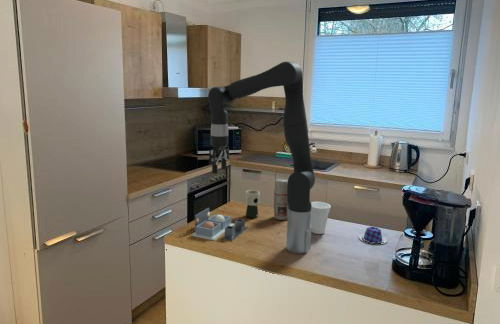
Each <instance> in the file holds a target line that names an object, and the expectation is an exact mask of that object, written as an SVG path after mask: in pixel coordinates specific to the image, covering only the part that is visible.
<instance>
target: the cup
mask: <svg viewBox="0 0 500 324" xmlns="http://www.w3.org/2000/svg"><path fill="white" fill-rule="evenodd" d="M310 202H311V204H312V207H311V222H310V226H311V227H312V228H311V233H313V234H317V235H322V234H325V231H326V227H327V224H328V223H327V221H328V217H329V213H330V211H331V208H332V206H331V204H329V203H327V202H324V201H310Z"/></svg>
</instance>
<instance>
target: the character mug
mask: <svg viewBox="0 0 500 324" xmlns="http://www.w3.org/2000/svg"><path fill="white" fill-rule="evenodd" d="M260 193H261V192H260V191H259V190H257V189H256V190H255V189H247V190H245V201H244V203H245V205H247V206H246V211H245V215H246V217H249V218H257V217H258V216H259V208H258V206H259V204H260V196H261V194H260Z"/></svg>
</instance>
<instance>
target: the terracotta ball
mask: <svg viewBox="0 0 500 324" xmlns="http://www.w3.org/2000/svg"><path fill="white" fill-rule="evenodd" d="M203 227H204V228H209V229H213V228H214V224H213V223H212V222H206V223H204V225H203Z"/></svg>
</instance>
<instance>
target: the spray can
mask: <svg viewBox="0 0 500 324" xmlns="http://www.w3.org/2000/svg"><path fill="white" fill-rule="evenodd" d="M287 183H288V179H279V178H278V179H277V178H276V179H275V183H274V192H273V194H274V195H273V197H274V198H273V201H274V202H273V207H274V208H273V214H274V215H273V216H274V217H273V218H274V219H275V220H277V221H278V220H279V221H288V202H287Z"/></svg>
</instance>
